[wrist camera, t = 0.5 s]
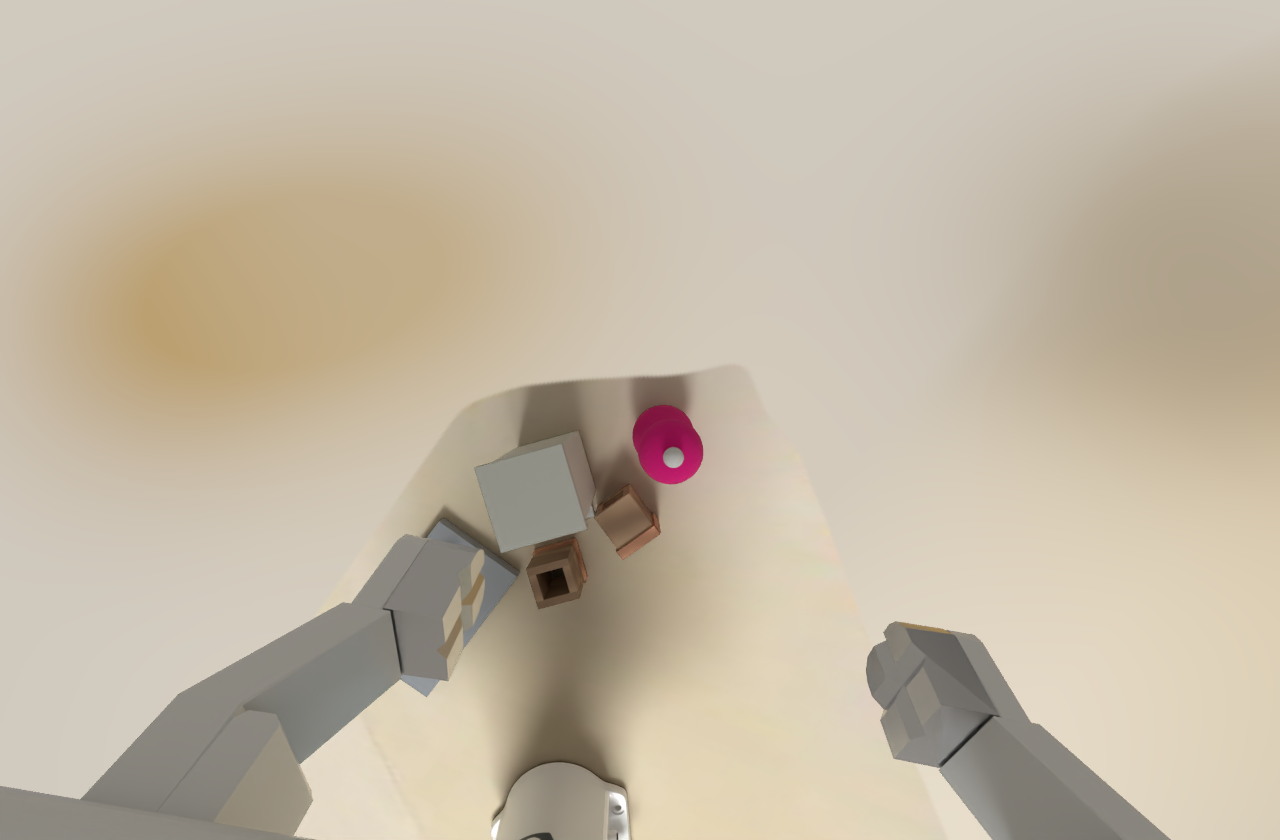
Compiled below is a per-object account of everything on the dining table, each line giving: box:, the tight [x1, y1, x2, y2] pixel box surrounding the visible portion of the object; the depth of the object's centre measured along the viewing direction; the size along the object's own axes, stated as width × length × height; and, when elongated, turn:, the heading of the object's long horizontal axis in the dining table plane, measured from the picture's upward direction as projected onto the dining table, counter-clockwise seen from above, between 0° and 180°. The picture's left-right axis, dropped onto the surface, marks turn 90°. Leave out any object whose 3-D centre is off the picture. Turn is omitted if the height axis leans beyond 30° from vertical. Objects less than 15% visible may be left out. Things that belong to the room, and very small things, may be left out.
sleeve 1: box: [526, 538, 587, 609], centre depth 58 cm, size 6×6×6 cm
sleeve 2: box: [594, 484, 661, 560], centre depth 57 cm, size 6×6×5 cm
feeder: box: [474, 430, 596, 553], centre depth 52 cm, size 11×9×15 cm
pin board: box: [401, 518, 520, 697], centre depth 58 cm, size 12×20×6 cm, turn 143°
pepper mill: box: [633, 405, 703, 484], centre depth 49 cm, size 7×7×20 cm
